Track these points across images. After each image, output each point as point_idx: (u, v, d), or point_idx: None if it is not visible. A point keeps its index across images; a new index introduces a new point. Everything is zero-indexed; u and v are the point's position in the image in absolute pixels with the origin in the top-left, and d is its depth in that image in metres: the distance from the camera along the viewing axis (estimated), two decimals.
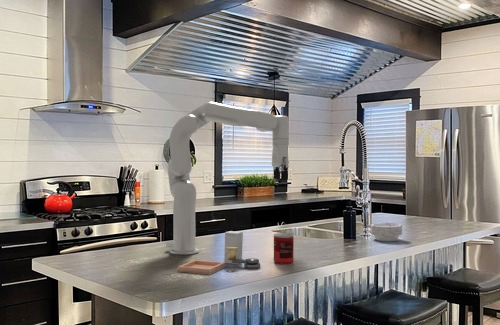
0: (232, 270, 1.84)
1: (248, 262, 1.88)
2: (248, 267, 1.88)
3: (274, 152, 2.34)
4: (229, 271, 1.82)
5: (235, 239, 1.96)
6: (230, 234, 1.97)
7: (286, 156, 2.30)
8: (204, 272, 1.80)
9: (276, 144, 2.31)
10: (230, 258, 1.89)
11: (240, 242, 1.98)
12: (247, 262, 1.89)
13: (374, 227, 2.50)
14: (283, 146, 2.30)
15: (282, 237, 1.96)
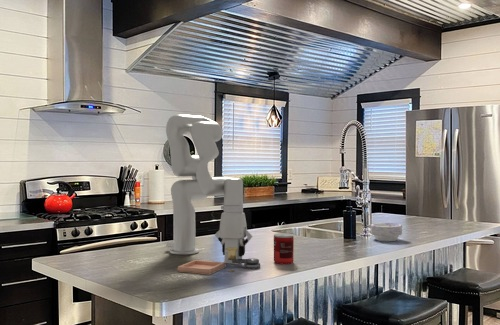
0: (232, 270, 1.84)
1: (248, 262, 1.88)
2: (248, 267, 1.88)
3: (229, 221, 1.96)
4: (229, 271, 1.82)
5: (235, 239, 1.96)
6: None
7: (246, 226, 1.98)
8: (204, 272, 1.80)
9: (235, 212, 1.95)
10: (230, 258, 1.89)
11: None
12: (247, 262, 1.89)
13: (374, 227, 2.50)
14: (243, 214, 1.97)
15: (282, 237, 1.96)
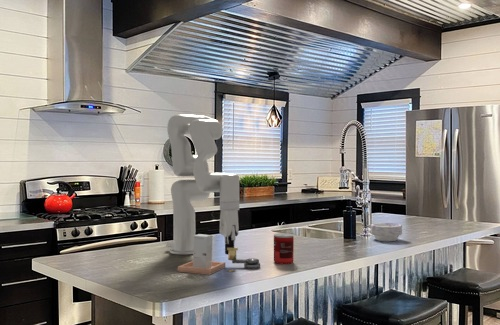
0: (232, 270, 1.84)
1: (248, 262, 1.88)
2: (248, 267, 1.88)
3: (222, 218, 1.93)
4: (229, 271, 1.82)
5: (205, 242, 1.85)
6: (199, 237, 1.86)
7: (236, 224, 1.90)
8: (204, 272, 1.80)
9: (224, 209, 1.91)
10: (230, 258, 1.89)
11: (209, 246, 1.86)
12: (247, 262, 1.89)
13: (374, 227, 2.50)
14: (232, 212, 1.89)
15: (282, 237, 1.96)
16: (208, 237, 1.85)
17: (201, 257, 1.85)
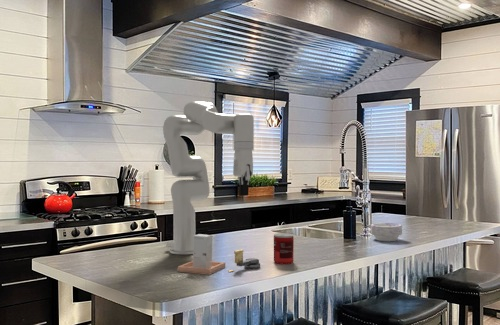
0: (232, 270, 1.84)
1: (254, 262, 1.88)
2: (248, 267, 1.88)
3: (236, 158, 1.90)
4: (229, 271, 1.82)
5: (205, 242, 1.85)
6: (199, 237, 1.86)
7: (250, 163, 1.86)
8: (204, 272, 1.80)
9: (238, 149, 1.87)
10: (240, 261, 1.83)
11: (209, 246, 1.86)
12: (252, 263, 1.88)
13: (374, 227, 2.50)
14: (246, 151, 1.86)
15: (282, 237, 1.96)
16: (208, 237, 1.85)
17: (201, 257, 1.85)
